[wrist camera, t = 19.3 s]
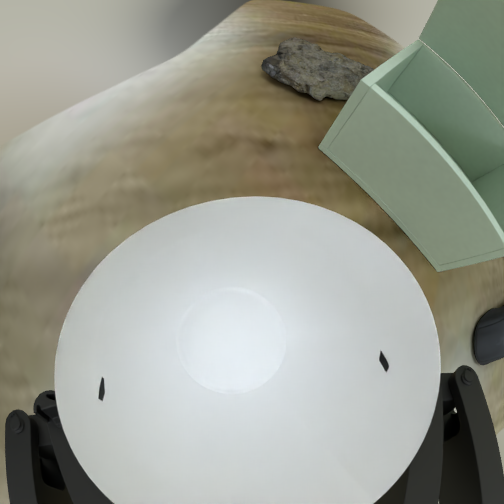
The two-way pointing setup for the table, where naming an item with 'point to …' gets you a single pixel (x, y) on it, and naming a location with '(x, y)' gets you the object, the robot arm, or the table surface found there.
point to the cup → (248, 360)
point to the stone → (315, 70)
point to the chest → (426, 156)
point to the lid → (471, 45)
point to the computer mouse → (490, 337)
